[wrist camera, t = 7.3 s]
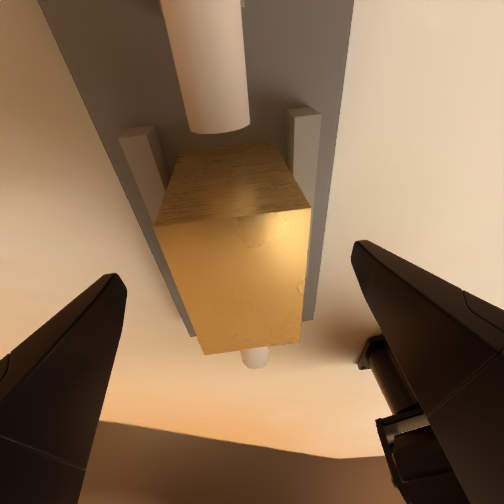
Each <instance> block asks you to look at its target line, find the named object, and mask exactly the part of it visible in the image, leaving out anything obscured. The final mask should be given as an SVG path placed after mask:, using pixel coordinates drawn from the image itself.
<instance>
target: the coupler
mask: <svg viewBox="0 0 504 504" xmlns="http://www.w3.org/2000/svg"><path fill="white" fill-rule="evenodd" d="M311 210H312V208H311V206H310V204H309V202H308V201H307V199H306V197H305V196H304V194H303V192H302V190H301V189H300V187H299V185H298V184H297V182H296V180H295V178H294V177H293V175H292V173H291V172H290V170H289V168H288V167H287V165H286V163H285V161H284V160H283V158H282V156H281V155H280V153H279V151H278V149H277V148H276V146H275V144H274V143H273V141H272V140H269V141H260V142H251V143H242V144H233V145H224V146H216V147H207V148H198V149H189V150H181V152H180V155H179V157H178V160H177V163H176V165H175V168H174V171H173V173H172V176H171V179H170V182H169V184H168V187H167V190H166V192H165V195H164V198H163V201H162V203H161V206H160V209H159V211H158V214H157V217H156V219H155V222H154V225H153V229H154V232H155V234H156V237H157V239H158V242H159V244H160V247H161V249H162V252H163V254H164V257H165V259H166V261H167V264H168V266H169V269H170V271H171V274H172V276H173V279H174V281H175V284H176V286H177V289H178V291H179V294H180V296H181V298H182V301H183V303H184V306H185V308H186V311H187V313H188V316H189V318H190V321H191V323H192V326H193V328H194V330H195V333H196V335H197V338H198V340H199V343H200V345H201V348H202V350H203V353H204V355H208V354H216V353H223V352H230V351H237V350H244V349H252V348H259V347H266V346H273V345H280V344H288V343H295V342H300V331H301V320H302V309H303V298H304V287H305V276H306V265H307V254H308V243H309V232H310V221H311Z"/></svg>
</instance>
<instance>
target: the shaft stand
mask: <svg viewBox="0 0 504 504" xmlns="http://www.w3.org/2000/svg"><path fill="white" fill-rule="evenodd" d="M38 3H39V5H40V7H41V9H42V11H43V14H44V16H45V18H46V20H47V22H48V25H49V27H50V29H51V31H52V33H53V36H54V38H55V40H56V42H57V44H58V47H59V49H60V51H61V53H62V55H63V58H64V60H65V62H66V64H67V66H68V69H69V71H70V73H71V75H72V77H73V80H74V82H75V84H76V86H77V88H78V91H79V93H80V95H81V97H82V99H83V102H84V104H85V106H86V108H87V110H88V113H89V115H90V117H91V119H92V121H93V124H94V126H95V128H96V130H97V132H98V135H99V137H100V139H101V141H102V143H103V146H104V148H105V150H106V152H107V154H108V157H109V159H110V161H111V163H112V165H113V168H114V170H115V172H116V174H117V176H118V179H119V181H120V183H121V185H122V187H123V190H124V192H125V194H126V196H127V198H128V201H129V203H130V205H131V207H132V209H133V212H134V214H135V216H136V218H137V220H138V223H139V225H140V227H141V229H142V231H143V234H144V236H145V238H146V240H147V242H148V245H149V247H150V249H151V251H152V253H153V256H154V258H155V260H156V262H157V264H158V267H159V269H160V271H161V273H162V275H163V278H164V280H165V282H166V284H167V286H168V289H169V291H170V293H171V295H172V297H173V300H174V302H175V304H176V306H177V308H178V311H179V313H180V315H181V317H182V319H183V322H184V324H185V326H186V328H187V330H188V333H189V335H190V337H194V336H197V335H196V333H195V330H194V328H193V326H192V323H191V321H190V318H189V316H188V313H187V311H186V308H185V306H184V303H183V301H182V298H181V296H180V294H179V291H178V289H177V286H176V284H175V281H174V279H173V276H172V274H171V271H170V269H169V266H168V264H167V261H166V259H165V257H164V254H163V252H162V249H161V247H160V244H159V242H158V239H157V237H156V234H155V232H154V229H153V225H154V222H155V219H156V217H157V214H158V211H159V209H160V206H161V203H162V201H163V198H164V195H165V192H166V190H167V187H168V184H169V182H170V179H171V176H172V173H173V171H174V168H175V165H176V163H177V160H178V157H179V155H180V152H181V150H189V149H198V148H207V147H216V146H224V145H233V144H242V143H251V142H260V141H269V140H272V141H273V143H274V144H275V146H276V148H277V149H278V151H279V153H280V155H281V156H282V158H283V160H284V161H285V163H286V165H287V167H288V168H289V170H290V172H291V173H292V175H293V177H294V178H295V180H296V182H297V184H298V185H299V187H300V189H301V190H302V192H303V194H304V196H305V197H306V199H307V201H308V202H309V204H310V206H311V208H312V210H311V221H310V232H309V243H308V254H307V265H306V276H305V287H304V298H303V309H302V320H301V321H307V320H313V317H314V309H315V302H316V294H317V286H318V278H319V270H320V263H321V255H322V247H323V239H324V231H325V224H326V216H327V208H328V200H329V192H330V185H331V177H332V169H333V161H334V153H335V145H336V138H337V130H338V122H339V114H340V106H341V99H342V91H343V83H344V75H345V67H346V60H347V52H348V44H349V36H350V28H351V21H352V13H353V5H354V0H38ZM240 351H241V356H242V360H243V362H244V364H245V365H246V366H247V367H249V368H251V369H259V368H262V367H263V366H265V365H266V363H267V362H268V359H269V348H268V346H266V347H259V348H252V349H244V350H240Z"/></svg>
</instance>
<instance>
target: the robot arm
mask: <svg viewBox="0 0 504 504" xmlns="http://www.w3.org/2000/svg"><path fill="white" fill-rule="evenodd" d="M351 263H352V266H353V269H354V271H355V274H356V277H357V279H358V282H359V285H360V287H361V290H362V293H363V295H364V297H365V299H366V301H367V303H368V305H369V307H370V309H371V311H372V313H373V315H374V317H375V319H376V321H377V323H378V325H379V327H380V329H381V330H382V332H383V334H384V336H380V337H373V338H370V339H369V340H368V341H367V344H366V346H365V348H364V351H363V353H362V356H361V358H360V361H359V363H358V368H359V369H360V370H364V369H371V370H372V372H373V374H374V376H375V378H376V380H377V382H378V385H379V387H380V389H381V391H382V393H383V395H384V397H385V399H386V401H387V403H388V406H389V408H390V410H391V412H392V414H393V415H392V416H389V417H386V418H383V419H382V418H379V419H376V420H375V421H376V427H377V431H378V434H379V437H380V441H381V444H382V447H383V450H384V453H385V456H386V459H387V463H388V466H389V470H390V475H391V480H392V483H393V485H394V487H395V488H397V489H398V490H399V491H400V493H401V494H402V496H403V498H404V500H405V501H406V503H407V504H504V310H502V309H500V308H498V307H496V306H494V305H492V304H490V303H488V302H486V301H484V300H482V299H480V298H478V297H476V296H474V295H472V294H470V293H468V292H466V291H464V290H463V291H462V289H460V288H459V287H457V286H455V285H453V284H451V283H449V282H447V281H445V280H443V279H441V278H439V277H437V276H435V275H434V274H432V273H430V272H428V271H426V270H424V269H422V268H420V267H418V266H416V265H414V264H412V263H410V262H408V261H407V260H405V259H403V258H401V257H399V256H397V255H395V254H393V253H391V252H389V251H387V250H385V249H383V248H382V247H380V246H378V245H376V244H374V243H372V242H370V241H368V240H360V241H356V242H355V243H354V246H353V250H352V254H351ZM126 298H127V288H126V286H125V285H124V283H123V281H122V280H121V278H120V277H119V275H118V274H117V273H110V274H105V275H103V276H102V277H101V278H99V279H98V280H97V281H96V282H94V283H93V284H92V285H91V286H90V287H88V288H87V289H86V290H85V291H84V292H82V293H81V294H80V295H79V296H78V297H76V298H75V299H74V300H73V301H72V302H70V303H69V304H68V305H67V306H65V307H64V308H63V309H62V310H61V311H59V312H58V313H57V314H56V315H55V316H53V317H52V318H51V319H50V320H49V321H47V322H46V323H45V324H44V325H42V326H41V327H40V328H39V329H38V330H36V331H35V332H34V333H33V334H32V335H30V336H29V337H28V338H27V339H26V340H24V341H23V342H22V343H21V344H19V345H18V346H17V347H16V348H15V349H13V350H12V351H11V353H10V354H7V355H6V356H5V357H4V358H3V359H1V360H0V504H77V503H78V499H79V496H80V491H81V488H82V483H83V480H84V476H85V472H86V467H87V463H88V460H89V456H90V452H91V448H92V445H93V441H94V437H95V433H96V429H97V425H98V421H99V417H100V414H101V410H102V406H103V402H104V398H105V394H106V390H107V387H108V383H109V379H110V375H111V371H112V367H113V363H114V360H115V356H116V352H117V348H118V344H119V340H120V336H121V332H122V327H123V320H124V313H125V306H126ZM429 424H430V425H429ZM426 425H427V426H426ZM422 426H424V427H422ZM419 427H420V428H419ZM416 428H417V429H416ZM412 429H414V430H412ZM409 430H410V431H409ZM406 431H407V432H406ZM402 432H404V433H402Z"/></svg>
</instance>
